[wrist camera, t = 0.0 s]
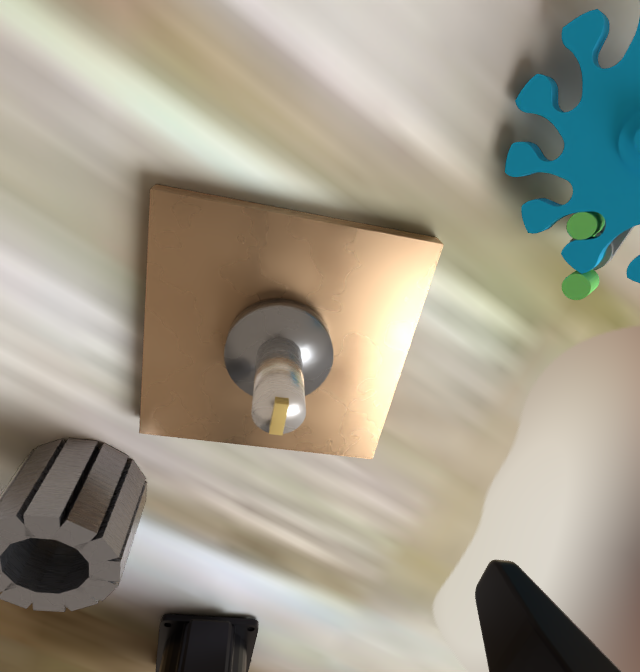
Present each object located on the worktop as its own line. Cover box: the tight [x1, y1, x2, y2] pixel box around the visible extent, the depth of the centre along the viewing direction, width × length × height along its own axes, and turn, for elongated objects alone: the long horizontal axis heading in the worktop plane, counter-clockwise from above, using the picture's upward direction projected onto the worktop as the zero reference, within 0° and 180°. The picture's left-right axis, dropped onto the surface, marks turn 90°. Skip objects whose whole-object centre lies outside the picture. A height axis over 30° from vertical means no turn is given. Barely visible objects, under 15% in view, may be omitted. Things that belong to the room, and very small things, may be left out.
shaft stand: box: [139, 184, 443, 459], centre depth 20 cm, size 12×12×6 cm
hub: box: [0, 438, 147, 612], centre depth 24 cm, size 7×7×5 cm
